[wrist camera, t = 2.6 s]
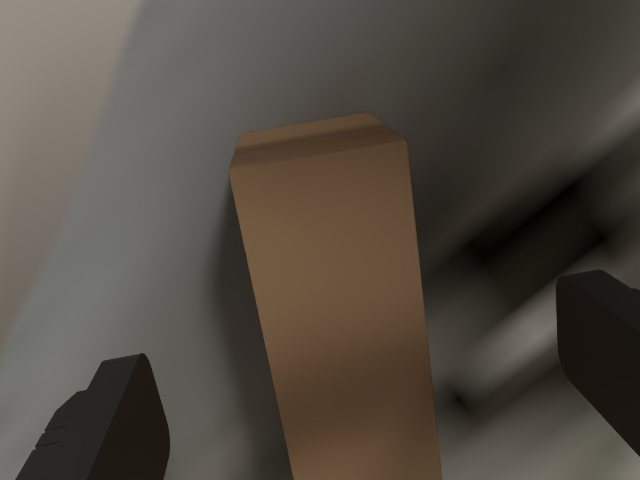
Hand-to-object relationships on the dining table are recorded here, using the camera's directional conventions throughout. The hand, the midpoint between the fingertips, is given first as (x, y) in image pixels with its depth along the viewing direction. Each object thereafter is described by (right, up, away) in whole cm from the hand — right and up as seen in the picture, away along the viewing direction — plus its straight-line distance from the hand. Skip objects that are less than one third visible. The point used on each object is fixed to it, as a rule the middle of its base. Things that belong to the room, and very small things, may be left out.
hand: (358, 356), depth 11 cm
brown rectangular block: (0, 0, +9) cm, 9 cm away
